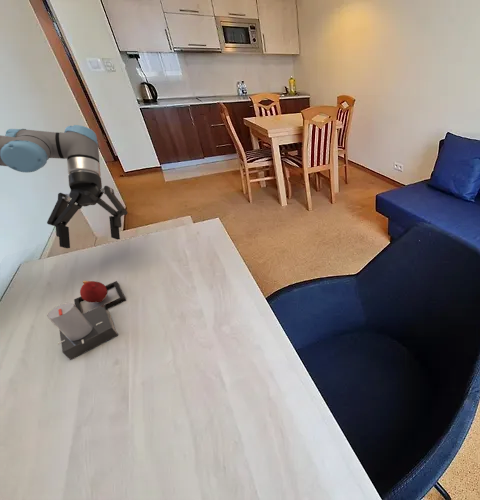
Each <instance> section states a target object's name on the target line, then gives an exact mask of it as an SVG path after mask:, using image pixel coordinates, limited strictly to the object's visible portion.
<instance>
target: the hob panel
mask: <svg viewBox="0 0 480 500" xmlns="http://www.w3.org/2000/svg"><path fill="white" fill-rule="evenodd" d="M83 316H84V317H85V318H86V319H87V320H88V321H89V323H90V324H91V325H92V326H93V329H92V331H91V332H90V333H89V334H88V335H87V336H85V337H83V338H81V339H79V340H76V341H70V340H69V339H68V338H67V337H66V336H65V335H64V334H63V333H62V332H61V331H60V330H59V329H58V331H59V337H60V341H58V342H57V344H56V345H60V344H61V350H62V353H63V354H64V356H66V358H68V360H69V361H71V360H73V359H75V358H77V357H79V356H81V355H83V354H85V353H86V352H87V353H88V351H91V350H93V349H95V348H96V347H98V346H100V345H102V344H104V343H106V342H108V341H110V340H113V339H114V338H116V337H118V336H119V334H118V332H117V328H116V326H115V323H114V320H113V317H112V315H111V312H110V310H109V309H107V308H106V307H105V304H101V305H98V306H96V307H94V308H92V309H90V310H88V311H86V312H85V311H84V312H83Z"/></svg>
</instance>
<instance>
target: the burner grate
mask: <svg viewBox="0 0 480 500" xmlns="http://www.w3.org/2000/svg"><path fill="white" fill-rule="evenodd" d="M105 286H106V288H107V291H109V290H112V289H113V288H115V290H116V293H117V296H118V298H116V299H114V300H112V301H110V302H107V303H105V304H104V305H105V307H106V308H107V309H108V310H109V309H111V308H114V307H115V306H117V305H119V304H122V303H124V302H126V301H127V300H126V296H125V294H124V293H123V290H122V288H121V286H120V284H119V282H118V281H117V280H116V281H115V280H114V281H113V282H111V283H109V284H106V285H105ZM73 301H74V302H73V303H74V305H75V306H76V307H77V308H78V310H79V311H80V312H81V313H82V314H83V313H84V309H83V306H82V302H84V301H85V300H83V299H82V297H81V296H79V297H76V298H74V299H73Z"/></svg>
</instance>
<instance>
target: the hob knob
mask: <svg viewBox="0 0 480 500" xmlns="http://www.w3.org/2000/svg"><path fill="white" fill-rule="evenodd" d="M46 317H47V318H48V319H49V321H51V323H52V324H53V325H54V326H55V327H56V328H57V329H58V331H59V330H60V331H61V332H62V333H63V334H64V335H65V336H66V337H67V338H68V339H69V340H70V341H76V340H79V339H81V338H83V337H85V336H87V335H88V334H89V333H90V332H91V331H92V329H93V326H92V325H91V324H90V323H89V321H88V320H87V319H86V318H85V317H84V316H83V314H82V313H81V312H80V311H79V310H78V308H77V307H76V306H75V303H74V302H71V301H67V302H64V303H63V302H62V303H60V304H58V305H56V306H54V307H53V308H51V310H49V311H48V312H47V313H46ZM60 331H59V332H60Z"/></svg>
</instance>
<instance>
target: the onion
mask: <svg viewBox="0 0 480 500" xmlns="http://www.w3.org/2000/svg"><path fill="white" fill-rule="evenodd" d="M82 283H83V284H82V286H81V288H80V290H79V295H80V297H82V299H83V300H84V301H85V302H88V303H102V302H103V301H104V300H105V299H106V297H107V295H108V290H107V288H106V285H105V284H104V283H102V282H100V281H95V280H83V281H82Z"/></svg>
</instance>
